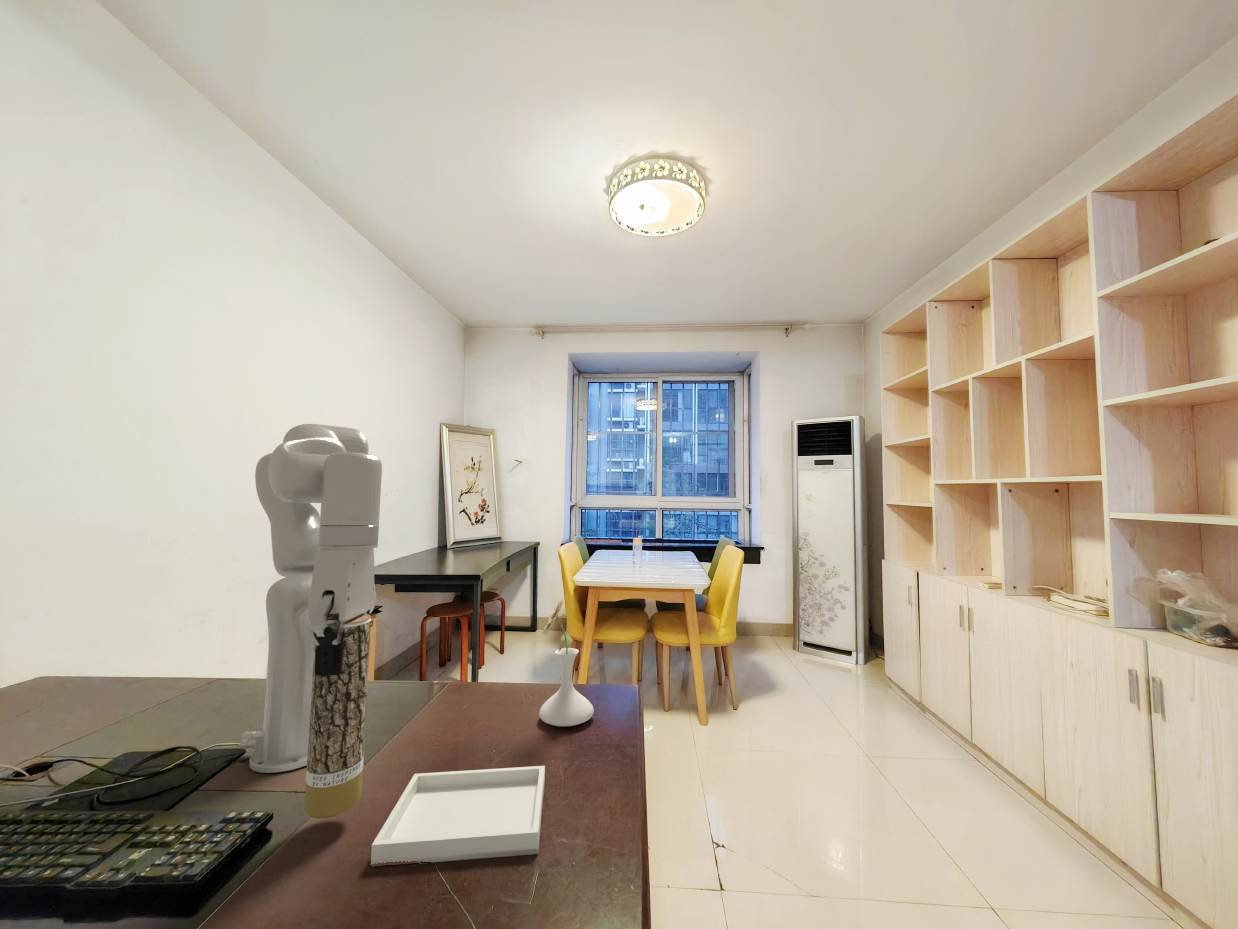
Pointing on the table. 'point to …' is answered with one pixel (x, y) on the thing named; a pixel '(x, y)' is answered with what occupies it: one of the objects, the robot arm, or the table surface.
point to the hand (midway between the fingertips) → (341, 664)
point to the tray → (464, 816)
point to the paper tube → (339, 726)
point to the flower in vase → (565, 686)
